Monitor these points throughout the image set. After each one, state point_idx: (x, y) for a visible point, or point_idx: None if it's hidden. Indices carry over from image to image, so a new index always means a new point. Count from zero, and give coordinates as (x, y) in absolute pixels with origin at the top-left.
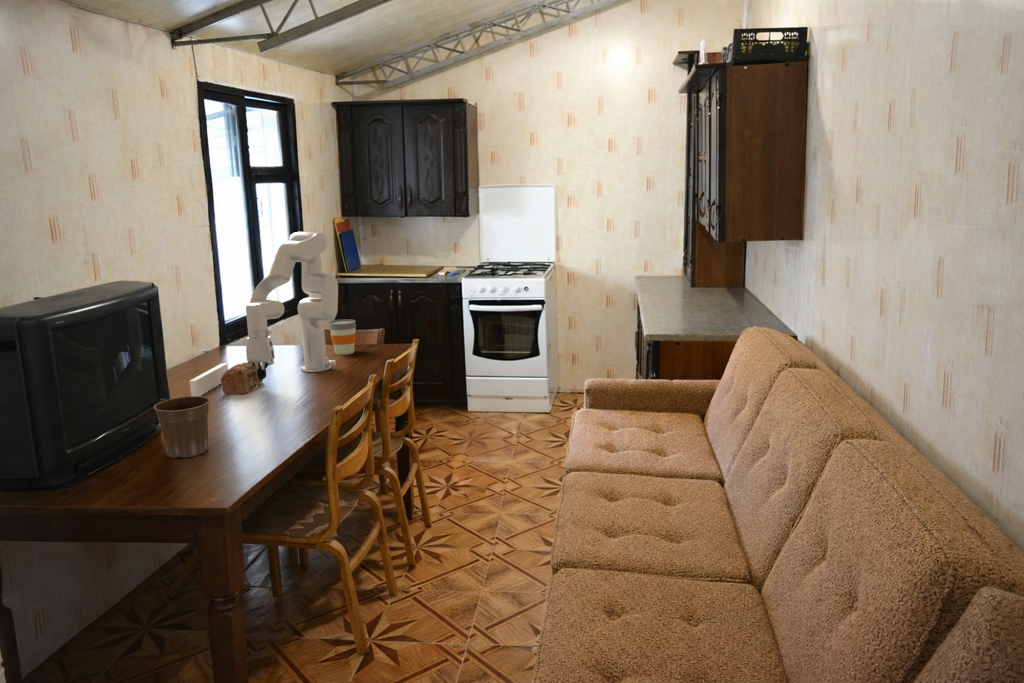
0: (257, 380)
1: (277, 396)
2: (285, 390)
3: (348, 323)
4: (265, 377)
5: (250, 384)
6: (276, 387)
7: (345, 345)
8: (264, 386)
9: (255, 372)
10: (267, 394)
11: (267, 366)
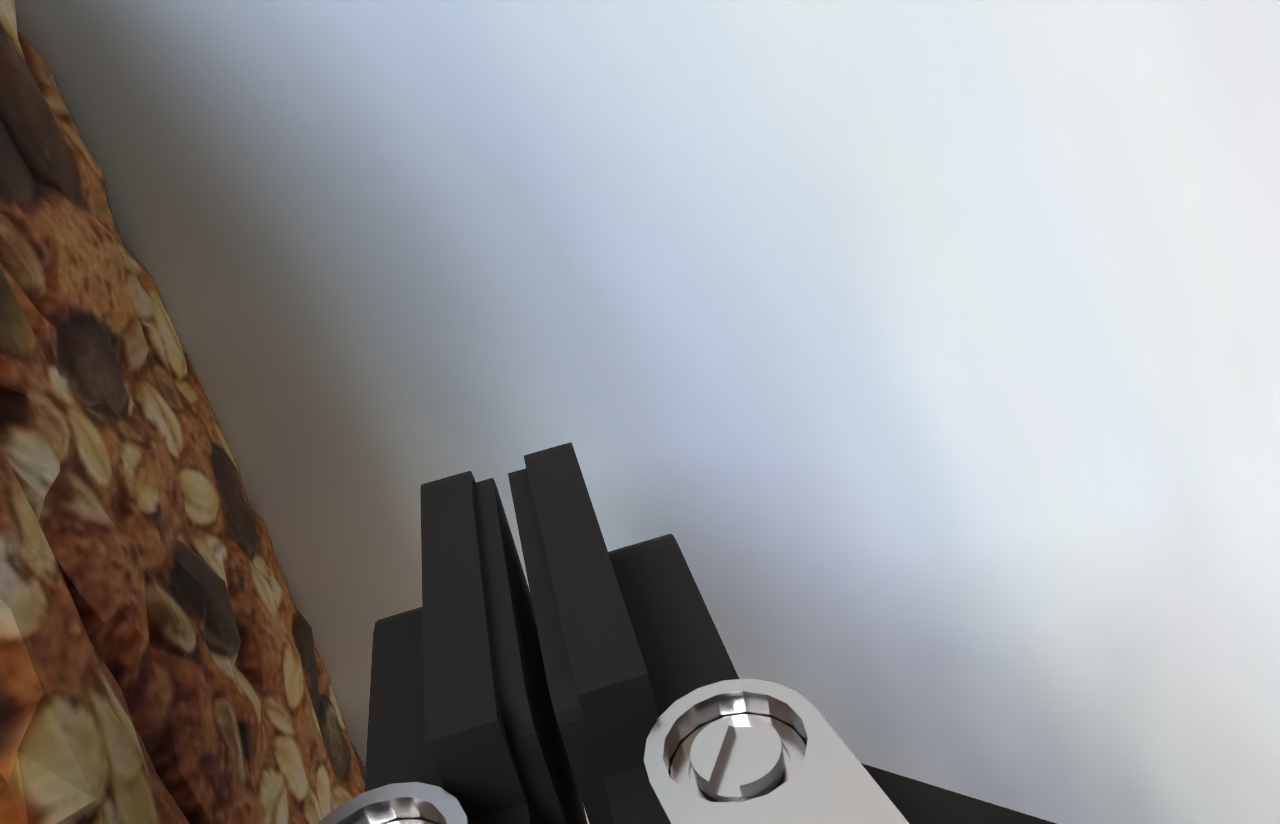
0: (93, 306)
1: (1125, 758)
2: (1133, 394)
3: None
4: (571, 449)
5: None
6: (796, 223)
7: None
8: (379, 221)
9: (101, 662)
10: (882, 734)
11: (921, 787)
